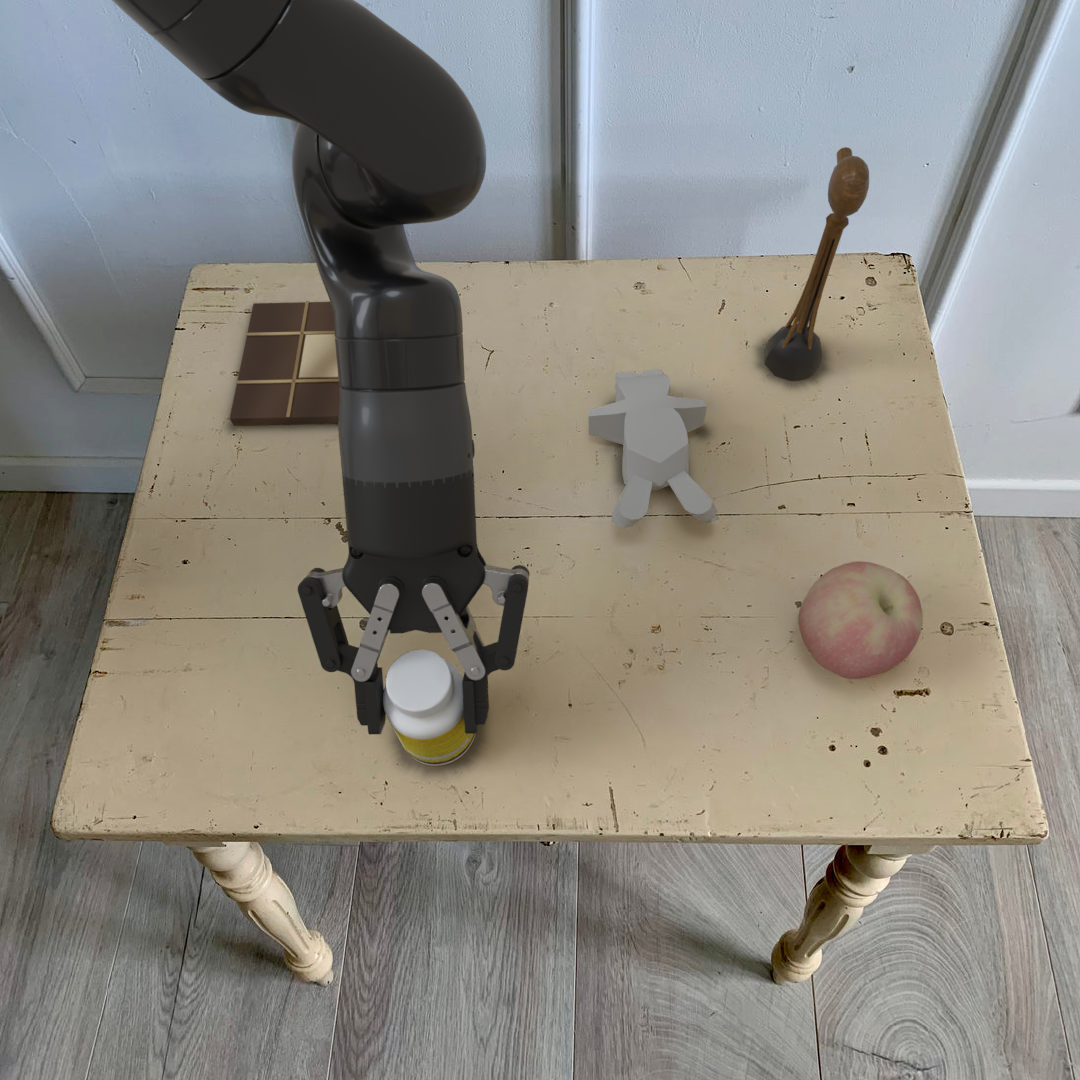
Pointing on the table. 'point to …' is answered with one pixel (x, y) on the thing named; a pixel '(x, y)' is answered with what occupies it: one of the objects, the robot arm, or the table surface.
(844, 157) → the wooden tabletop sculpture
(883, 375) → the table surface
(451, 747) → the supplement bottle
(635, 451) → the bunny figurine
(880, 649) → the apple
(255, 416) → the board
